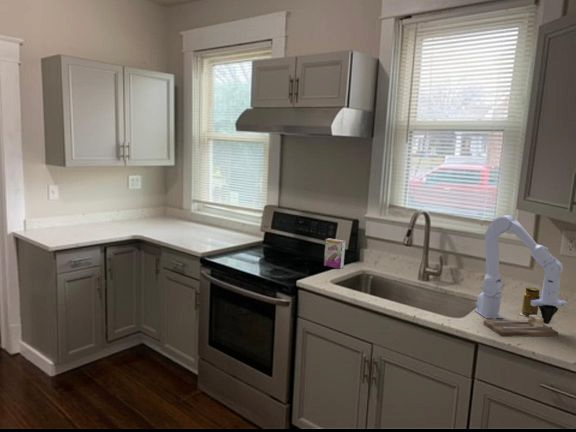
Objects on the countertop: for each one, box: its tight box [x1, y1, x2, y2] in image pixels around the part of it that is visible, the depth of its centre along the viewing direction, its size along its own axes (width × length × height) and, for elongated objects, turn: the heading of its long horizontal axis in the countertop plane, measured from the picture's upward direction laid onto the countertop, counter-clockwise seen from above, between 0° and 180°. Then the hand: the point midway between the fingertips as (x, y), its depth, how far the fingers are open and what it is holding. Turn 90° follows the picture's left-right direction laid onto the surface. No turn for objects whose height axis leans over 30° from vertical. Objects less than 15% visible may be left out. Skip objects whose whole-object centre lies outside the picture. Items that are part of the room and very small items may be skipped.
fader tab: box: [527, 315, 544, 327], centre depth 176 cm, size 4×3×4 cm
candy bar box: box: [323, 238, 346, 270], centre depth 259 cm, size 11×5×16 cm, turn 59°
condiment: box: [519, 286, 542, 318], centre depth 193 cm, size 7×8×12 cm
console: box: [483, 320, 559, 337], centre depth 176 cm, size 12×24×2 cm, turn 98°
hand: (545, 322), depth 177 cm, fingers closed
